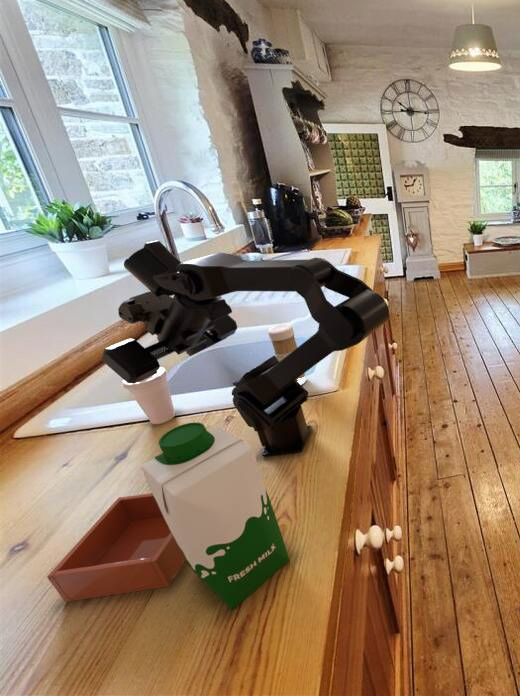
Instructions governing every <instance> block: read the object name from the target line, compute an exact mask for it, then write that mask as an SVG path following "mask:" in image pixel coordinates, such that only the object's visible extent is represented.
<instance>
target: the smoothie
mask: <svg viewBox="0 0 520 696" xmlns="http://www.w3.org/2000/svg"><path fill="white" fill-rule="evenodd" d="M157 372H158V373H156V374H154V375H152V376H151V377H149V378H147V379H145V380H143V381H140V382H137V383H135V384H133V383H127V382H126V381H125V380H124V379H122V382H121V383H122V385H123V388H124V389H126V390H128V392H129V393H130V394H131V397H133V399H134V401H135V402H136V403H137V404H138V406H139V407H140V409H141V410H142V412H143V413H144V414H145V416H146V417H147V419H148V420H149V421H150V423H151V424H152V425H161V424H164V423H167V422H169V421H171V420H172V419H173V418H175V417H176V412H175V408H174V407H175V406H174V404H173V400H172V395H171V391H170V387H169V383H168V379H167V376H168V371H167V370H166V368H165V367H161V366H160V368H159V370H157Z"/></svg>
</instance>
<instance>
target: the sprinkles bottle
mask: <svg viewBox="0 0 520 696" xmlns="http://www.w3.org/2000/svg"><path fill="white" fill-rule="evenodd" d="M267 335H268V337H269V340H270V342H271V344H272V347H273V350H274V355H275V356H276V358H277V359H278V361H279V362H280V361H281V360H283V359H284V358H285V357H286V356H288V355H289V354H290V353H291V352H293V351H294V350H295V349H296V348H298V344H297V341H296V339H295V331H294V327H293V325H291V324H288V323H284V324H283V323H282V324H277V325H275V326H273V327H270V328H269V329H268V331H267ZM304 376H305V377H306V374H305V373H304V374H302V375H301V376H299V377H298V378H302V377H304ZM298 378H297V379H298ZM297 381H298V380H297Z"/></svg>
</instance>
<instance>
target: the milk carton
mask: <svg viewBox="0 0 520 696" xmlns="http://www.w3.org/2000/svg"><path fill="white" fill-rule="evenodd" d="M158 445H159V448H160V450H161V452H162V453H160V454H157V455H156V456H154V458H152V459H150V460H148V461H146V462H144V463H142V464H141V465H140V468H141V470H142V472H143V475H144V478H145V480H146V482H147V486H148V487H149V490H150V492H151V493H152V494H153V496H154V498H155V499H156V501H157V503H158V506H159V508H160V510H161V512H162V515H163V517H164V519H165V521H166V523H167V525H168V527H169V529H170V531H171V533H172V534H173V536H174V538H175V540H176V542H177V544H178V546H179V548H180V550H181V552H182V554H183V556H184V558H185V560H186V561H185V562H186V563H187V565H188V566H189V567H190V569H191V570H192V572H193V573H194V574H195V575H196V576H197V577H198V578H199V579H200V580H201V581H202V582H203V584H205V585H206V587H208V588H209V589H210V591H212V593H213V594H215V595H216V596H217V597H218V598H219V599H220V600H221V601H222V602H223V603H224V604H225V605H226V606H227V607H228V608H229V609H230V610H231V611H233V610H235V609H236V608H237V607H238V606H239V605H240V604H242V603H243V602H244V601H245V600H246V599H247V598H248V597H250V596H251V595H252V594H253V593H254V592H255V591H256V590H257V589H259V588H260V587H261V586H262V585H263V584H265V583H266V582H267V581H268V580H269V579H270V578H272V576H274V575H275V574H276V573H277V572H278V571H279V570H281V569H282V568H283V567H284V566H285V565H286V564H287V563H289V562H290V561H291V560H290V556H289V554H288V550H287V547H286V544H285V541H284V537H283V535H282V534H283V533H282V532H281V528H280V525H279V522H278V520H277V517H276V513H275V511H274V508H273V505H272V502H271V499H270V497H269V494H268V492H267V489H266V486H265V482H264V479H263V477H262V474H261V471H260V470H259V469H260V468H259V465H258V463H257V458H256V454H255V448H254V447H253V446H251V445H250V444H248V443H247V442H245V441H244V439H243V438H241V437H240V436H238V435H236V434H234V433H232V432H231V431H229V430H227V429H226V428H224V427H223V426H221V425H215V426H213V427H211V428H210V429H208V430H207V428H206V426H205V425H204V424H203V423H202V422H197V421H196V422H187V423H184V424H181V425H178V426H175V427H173V428H172V429H170V430H168V431H167V432H165V433H164V434H163V435H162V436H161V437H160V438H159V440H158Z"/></svg>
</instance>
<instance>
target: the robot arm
mask: <svg viewBox="0 0 520 696" xmlns="http://www.w3.org/2000/svg"><path fill="white" fill-rule="evenodd" d="M123 267H124V269H126V270H127V272H129V273H130V274H131V275H132V276H133V277H134V278H136V279H137V280H138V281H139V282H140V283H141V284H142V285H143V286H145V287H146V288H147V290H149V291H146V292H141V293H139V294H136V295H134V296H130V297H129V298H128V299H127V300H124V301H122V302H121V303H120V305H119V306H118V309H117V312H118V313H117V314H118V316H119V318H120V319H121V320H123V321H125V322H127V323H129V324H131V325H134V324H136V323H140V322H141V323H143V324H144V325H147V327H146V331H147V332H148V333H149V334H150V335H151V336H154V335H156V336H157V337H156V339H157V342H156V343H153V344H151V345H148V346H147V347H144V346H143V345H142V344H141V343H140V342H139V341H137V340H136V339H134V338H127V339H125V340H122V341H120V342H118V343H115V344H112V345H109V346H107V347H105V348H104V349H103V351H102V355H101V358H100V361H101V362H103V363H104V364H105V365H106V366H107V367H108V368H110V369H111V370H112V371H113V372H114V373H116V374H117V375H118V376H119V377H120V378H121V379H122V380H125V381H126V382H127V383H133V384H135V383H137V382H140V381H143V380H145V379H147V378H149V377H151V376H152V375H154V374H156V373H158V372H157V370H159V368H160V367H161V365H160V362H159V360H161V359H163V358H165V357H168V356H169V355H171V354H173V353H176V354H177V355H178V356H179V355H182V354H183V353H186V354H187V355H188V356H189V357H192V356H194V355H196V354H198V353H200V352H202V351H204V350H206V349H208V348H210V347H212V346H214V345H216V344H218V343H220V342H222V341H224V340H226V339H228V337H230V336H233V335H235V333H236V331H237V330H238V323H237V321H236V320H235V319H234V318H233V317H232V316H231V315H230V314H232V313H233V310H232V307H231V306H230V305H229V303H227V301H226V299H225V298H223V297H222V296H224V295H228V294H232V293H236V292H282V293H283V292H284V293H285V292H288V293H289V292H292V293H293V292H296V293H297V294H298V295H299V296H300V297H301V298H303V300H304V301H305V304H306V306H307V309H308V311H309V314H310V316H311V318H312V319H313V320H314V321H315V322H317V324H318V328H317V331H316V332H315V333H314V334H313V335H311V336H310V337H309V338H307V339H306V340H305V341H304V342H302V343H301V344H300V345H299V346H297V348H296V349H295V350H294V351H293V352H291V353H290V354H289V355H288V356H286V357H285V358H284V359H283V360H281V361H280V362H279V361H278V359H277V358H276V355H275V354H274V355H272V356H271V357H269V358H268V359H266V360H264V361H262V363H259V364H257V365H256V366H255V367H253V368H252V369H250V370H248V371H247V372H246V373H244V374H243V375H242V376H241V377H240V378H239V379H237V380H235V381H233V382H232V385H233V386H234V387H233V388H232V390H231V396H233V397H232V404H233V406H234V407H235V409H236V410H237V412H238V413H239V416H240V417H241V418H242V419H243V421H244V422H245V424H246V425H247V427H249V428H253V430H254V432H256V433H257V437H258V438H259V441H260V445H261V446H262V447H263V449H262V451H261V453H260V454H261V456H262V457H270V456H278V455H286V454H288V455H289V454H296V453H300V452H302V451H303V450H304V449H305V445H306V443H307V441H308V439H309V436H310V435H311V432H312V431H313V426H312V425H307V420H306V417H305V413H304V410H303V407H302V405H304V404H305V403H306V402H307V401H308V400H309V391H308V390H307V389H306V388H304V387H303V385H300V384H299V383H298V382H297V378H298V377H299V376H301V375H302V374H305V373H306V372H308V371H310V370H311V369H312V368H314V366H316V365H317V364H318V363H319V362H320V363H321V362H322V360H324V359H326V358H327V357H328V356H329V355H331V354H332V353H334V352H341V351H344V350H347V349H349V348H352V347H354V346H357V345H358V344H360V343H361V342H362V341H364V340H365V339H367V338H368V337H369V336H371V335H372V334H373V333H374V332H376V331H377V330H378V329H380V328H381V327H382V326H384V325H385V324H386V323H387V322H388V321H389V320H390V309H389V306H388V303H387V301H386V300H385V299H384V297H382V295H380V294H379V293H377V292H376V291H374V290H373V289H372V288H371V287H370V286H368V284H367V283H366V282H364V281H363V280H361V279H360V278H358V277H356V276H353V275H351V274H348V273H346V272H344V271H342V270H339V269H338V268H337V267H336V266H334V265H333V264H332V263H331V262H330V261H328V260H327V259H325V258H321V257H313V258H310V259H275V260H273V259H272V260H271V259H270V260H269V259H268V260H247V259H243V258H242V257H240V256H239V255H236V254H232V253H225V252H216V253H211V254H209V255H205V256H202V257H199V258H194V259H191V260H188V261H185V262H181V260H179V259H178V257H176V256H175V255H174V254H173V253H172V252H171V251H170V250H169V249H168V247H166V246H165V245H164V244H163V243H162V242H161V241H160V240H154V241H150V242H145V243H144V245H143V247H142V248H140V249H138V250H136V251H135V252H134V253H132V254H131V255H129V257H128V258H126V259H125V260H124V263H123ZM323 288H326V289H327V290H330V291H332V292H334V293H336V294H339V295H342V296H344V297H346V298H347V299H345V300H343V301H341V302H340V303H338V304H336V305H333V304H332V303H331V302H330V301H329V300H327V297H326V295H325V293H324V291H323Z"/></svg>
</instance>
